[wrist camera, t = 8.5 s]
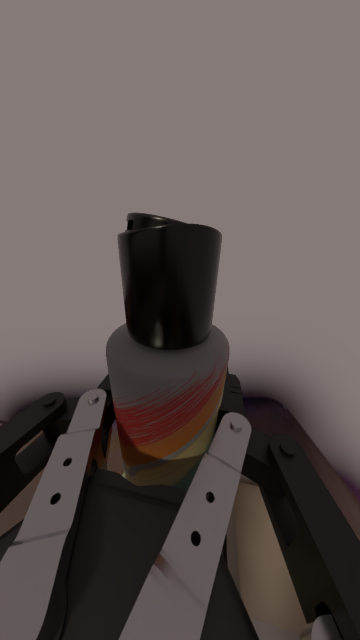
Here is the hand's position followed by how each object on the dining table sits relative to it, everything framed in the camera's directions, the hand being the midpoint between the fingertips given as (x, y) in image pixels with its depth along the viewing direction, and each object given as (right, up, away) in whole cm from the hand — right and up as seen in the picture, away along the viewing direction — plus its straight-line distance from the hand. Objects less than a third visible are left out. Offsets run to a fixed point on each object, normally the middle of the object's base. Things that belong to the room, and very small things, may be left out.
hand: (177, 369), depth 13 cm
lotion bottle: (-1, -11, +2) cm, 11 cm away
